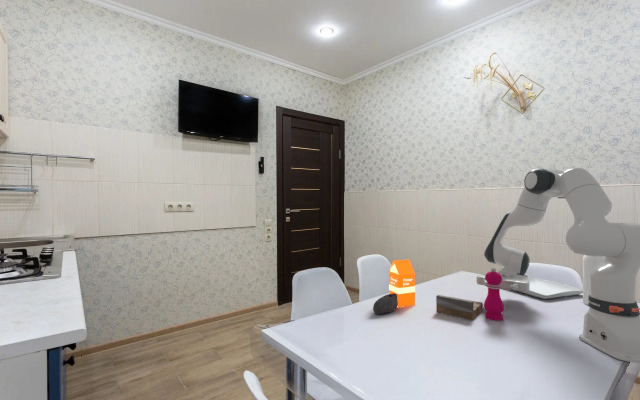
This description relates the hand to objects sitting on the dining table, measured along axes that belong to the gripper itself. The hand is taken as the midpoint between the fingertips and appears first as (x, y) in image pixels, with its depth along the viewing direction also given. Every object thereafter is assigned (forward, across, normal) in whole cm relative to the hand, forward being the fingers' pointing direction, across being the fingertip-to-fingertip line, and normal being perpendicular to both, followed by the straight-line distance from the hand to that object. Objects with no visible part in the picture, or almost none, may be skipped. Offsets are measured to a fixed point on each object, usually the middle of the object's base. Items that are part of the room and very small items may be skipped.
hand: (498, 286), depth 135 cm
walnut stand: (+9, -13, +11) cm, 19 cm away
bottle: (-38, +30, +11) cm, 50 cm away
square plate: (-48, +9, +12) cm, 50 cm away
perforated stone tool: (+30, -37, +11) cm, 49 cm away
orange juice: (+15, -36, +11) cm, 41 cm away
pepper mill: (+9, 0, +11) cm, 14 cm away
